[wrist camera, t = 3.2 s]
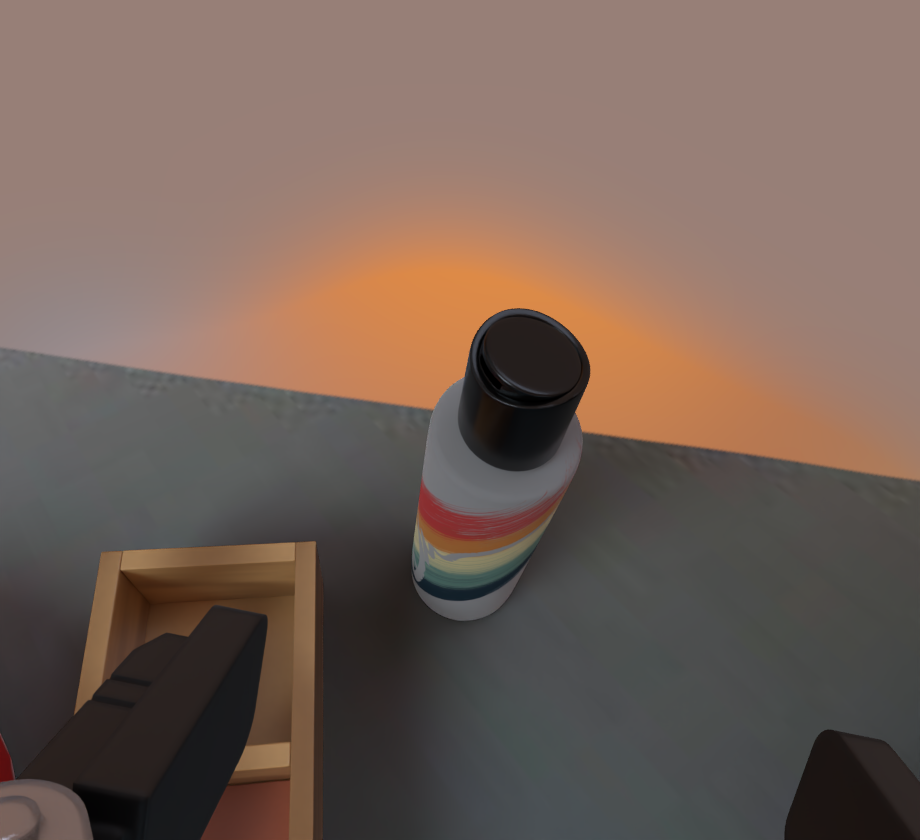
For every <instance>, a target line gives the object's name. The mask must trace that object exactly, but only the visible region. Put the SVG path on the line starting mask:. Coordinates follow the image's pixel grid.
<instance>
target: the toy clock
mask: <svg viewBox="0 0 920 840" xmlns="http://www.w3.org/2000/svg"><path fill="white" fill-rule="evenodd" d="M10 780H16V779H15V774H14V769H13V764H12V759H11V757H10V754H9V752H8V750H7V747H6V745H5V742H4V740H3V738H2V735H1V733H0V782H5V781H10Z"/></svg>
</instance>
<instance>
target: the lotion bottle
mask: <svg viewBox="0 0 920 840" xmlns="http://www.w3.org/2000/svg"><path fill="white" fill-rule="evenodd" d="M589 378H590V364H589V360H588V357H587V355H586V352H585V351H584V349H583V347H582V345H581V344H580V342H579V341H578V340H577V339H576V338H575V336H574V335H573V334H572V333H571V332H570V331H569V330H568V329H567V328H565V327H564V326H563V325H562V324H560V323H559V322H557V321H556V320H554V319H553V318H551V317H549V316H547V315H545V314H543V313H540V312H537V311H533V310H529V309H520V308H517V309H508V310H504V311H501V312H499V313H497V314H495V315H493V316H492V317H490V318H489V319H488V320H486V321H485V322H484V323H483V325H482V326H481V327H480V328H479V330H478V331H477V333H476V334H475V337H474V339H473V341H472V344H471V348H470V352H469V357H468V363H467V367H466V372H465V377H464V378H462V379H460V380H459V381H457V382H456V383H454V384H453V385H452V386H451V387H449V388H448V389H447V391H446V392H445V393H444V394H443V395H442V396H441V398H440V399H439V401H438V403H437V405H436V406H435V409H434V411H433V414H432V417H431V421H430V426H429V431H428V437H427V444H426V451H425V459H424V466H423V474H422V481H421V489H420V496H419V504H418V511H417V519H416V526H415V534H414V541H413V549H412V559H411V572H412V578H413V583H414V585H415V588H416V590H417V592H418V594H419V596H420V597H421V599H422V600H423V601H424V602H425V603H426V605H427V606H429V607H430V608H431V609H432V610H433V611H435V612H436V613H438V614H440V615H442V616H444V617H446V618H449V619H453V620H459V621H470V620H476V619H480V618H483V617H485V616H488V615H490V614H491V613H493V612H495V611H496V610H497V609H498V608H499V607H501V606H502V604H503V603H504V602H505V601H506V600H507V598H508V597H509V596H510V594H511V593H512V591H513V589H514V587H515V586H516V584H517V582H518V580H519V578H520V576H521V575H522V573H523V571H524V569H525V567H526V565H527V563H528V561H529V560H530V558H531V556H532V554H533V552H534V550H535V548H536V546H537V545H538V543H539V541H540V539H541V537H542V535H543V533H544V532H545V530H546V528H547V526H548V524H549V522H550V520H551V518H552V517H553V515H554V513H555V511H556V509H557V507H558V505H559V504H560V502H561V500H562V498H563V496H564V494H565V492H566V490H567V488H568V486H569V485H570V483H571V481H572V479H573V477H574V475H575V472H576V470H577V468H578V465H579V462H580V459H581V454H582V446H583V438H582V430H581V426H580V423H579V420H578V418H577V415H576V413H575V411H576V409H577V407H578V404H579V402H580V400H581V398H582V396H583V393H584V391H585V389H586V387H587V384H588V381H589Z"/></svg>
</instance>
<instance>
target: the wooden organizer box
mask: <svg viewBox="0 0 920 840" xmlns="http://www.w3.org/2000/svg"><path fill="white" fill-rule="evenodd" d="M214 605H220V606H225V607H230V608H235V609H240V610H245V611H250V612H255V613H260V614H265V615H267V618H268V628H267V636H266V642H265V649H264V655H263V662H262V669H261V675H260V682H259V689H258V695H257V702H256V708H255V714H254V719H253V723H252V727H251V730H250V734H249V737H248V740H247V743H246V746H245V749H244V751H243V754H242V756H241V758H240V760H239V762H238V764H237V766H236V768H235V770H234V772H233V774H232V777H231V779H230V781H229V783H228V785H227V787H226V789H225V791H224V793H223V795H222V797H221V799H220V801H219V803H218V805H217V807H216V809H215V811H214V813H213V815H212V817H211V819H210V821H209V823H208V825H207V827H206V829H205V831H204V833H203V835H202V837H201V839H200V840H323V579H322V573H321V567H320V561H319V556H318V550H317V544H316V541H310V542H296V543H295V542H292V543H271V544H250V545H230V546H209V547H189V548H168V549H148V550H127V551H111V552H102V553H101V558H100V564H99V570H98V575H97V581H96V587H95V593H94V599H93V605H92V611H91V617H90V623H89V629H88V635H87V641H86V647H85V653H84V659H83V665H82V671H81V677H80V683H79V688H78V694H77V700H76V706H75V712H74V715H75V714H76V713H77V711H78V710H79V709H80V708H81V707H82V706H83V705H84V704H85V703H86V701H87V700H91V699H92V696H93V694H94V693H95V691H96V690H97V689H98V688H99V687H100V686H101V685H102V684H103V683H104V682H105V680H106V679H110V677H111V674H112V673H113V672H114V670H115V669H116V668H117V667H118V666H119V665H120V664H121V663H122V662H123V660H124V659H125V658H126V657H127V656H128V655H129V654H130V653H131V652H132V650H134V649H136V648H137V647H139V646H141V645H143V644H145V643H147V642H149V641H151V640H153V639H155V638H157V637H159V636H160V635H162V634H164V633H166V632H167V633H172V634H177V635H182V636H187V637H188V636H189V635H190V634H191V633H192V631H193V630H194V629H195V627H196V626H197V625H198V624H199V622H200V621H201V620H202V619H203V617H204V616H205V615H206V614H207V612H208V611H209V610H210V609H211V607H212V606H214Z"/></svg>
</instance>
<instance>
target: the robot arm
mask: <svg viewBox="0 0 920 840" xmlns="http://www.w3.org/2000/svg"><path fill="white" fill-rule="evenodd" d="M267 628H268V618H267V615H265V614H260V613H255V612H250V611H245V610H240V609H235V608H230V607H225V606H220V605H214V606H212V607H211V609H210V610H209V611H208V612H207V614H206V615H205V616H204V617H203V619H202V620H201V621H200V622H199V624H198V625H197V626H196V627H195V629H194V630H193V631H192V633H191V634H190V635H189V636H188V637H187V636H182V635H177V634H172V633H167V632H166V633H164V634H162V635H160V636H159V637H157V638H155V639H153V640H151V641H149V642H147V643H145V644H143V645H141V646H139V647H137V648H136V649H134V650H132V652H131V653H130V654H129V655H128V656H127V657H126V658H125V659H124V660H123V662H122V663H121V664H120V665H119V666H118V667H117V668H116V669H115V670H114V672H113V673H112V674H111V677H110V679H106V680H105V682H104V683H103V684H102V685H101V686H100V687H99V688H98V689H97V690H96V691H95V693H94V694H93V696H92V699H91V700H87V701H86V703H85V704H84V705H83V706H82V707H81V708H80V709H79V710H78V711H77V713H76V714H75V715H74V716H73V717H72V718H71V719H70V720H69V721H68V723H67V724H66V725H65V726H64V727H63V728H62V729H61V730H60V731H59V732H58V734H57V735H56V736H55V737H54V738H53V739H52V740H51V741H50V742H49V744H48V745H47V746H46V747H45V748H44V749H43V750H42V751H41V752H40V754H39V755H38V756H37V757H36V758H35V759H34V760H33V761H32V762H31V764H30V765H29V766H28V767H27V768H26V769H25V770H24V771H23V772H22V773H21V775H20V776H19V777H18V778H17V779H16V780H10V781H5V782H0V840H200V839H201V837H202V835H203V833H204V831H205V829H206V827H207V825H208V823H209V821H210V819H211V817H212V815H213V813H214V811H215V809H216V807H217V805H218V803H219V801H220V799H221V797H222V795H223V793H224V791H225V789H226V787H227V785H228V783H229V781H230V779H231V777H232V774H233V772H234V770H235V768H236V766H237V764H238V762H239V760H240V758H241V756H242V754H243V751H244V749H245V746H246V743H247V740H248V737H249V734H250V730H251V727H252V723H253V719H254V714H255V708H256V702H257V695H258V689H259V682H260V675H261V669H262V662H263V655H264V649H265V642H266V636H267ZM785 840H920V782H919V781H918V779H917V778H916V777H915V776H914V774H913V773H912V772H911V771H910V770H909V768H908V767H907V766H906V765H905V763H904V762H903V761H902V760H901V759H900V757H899V756H898V755H897V754H896V752H895V751H894V750H893V749H892V748H891V747H890V745H889V744H887V743H886V742H884V741H882V740H879V739H874V738H869V737H864V736H859V735H854V734H849V733H844V732H839V731H834V730H825V731H823V732H821V733H820V734H819V735H818V737H817V738H816V740H815V742H814V745H813V747H812V750H811V753H810V756H809V758H808V761H807V764H806V767H805V769H804V772H803V775H802V778H801V780H800V783H799V786H798V789H797V792H796V794H795V797H794V800H793V803H792V805H791V808H790V811H789V814H788V817H787V820H786V825H785Z"/></svg>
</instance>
